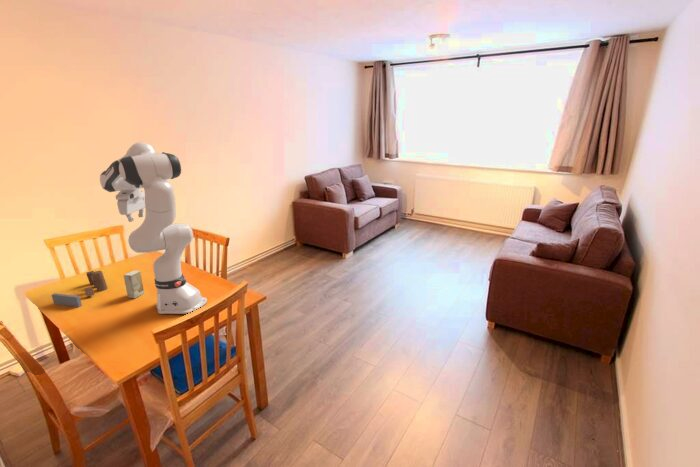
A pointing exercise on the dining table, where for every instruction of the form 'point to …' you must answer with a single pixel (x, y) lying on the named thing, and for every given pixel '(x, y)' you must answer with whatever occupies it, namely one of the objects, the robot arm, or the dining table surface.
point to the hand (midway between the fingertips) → (136, 219)
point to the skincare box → (133, 284)
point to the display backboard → (66, 300)
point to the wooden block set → (95, 282)
